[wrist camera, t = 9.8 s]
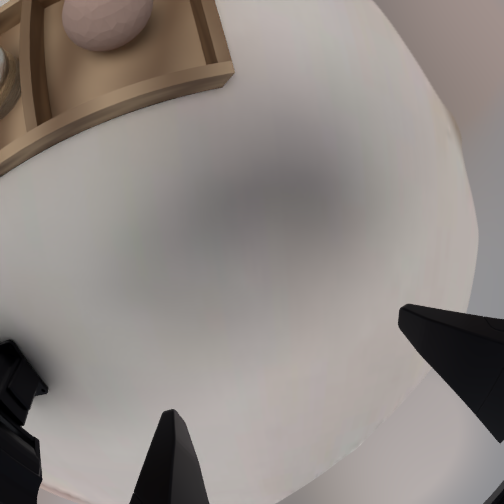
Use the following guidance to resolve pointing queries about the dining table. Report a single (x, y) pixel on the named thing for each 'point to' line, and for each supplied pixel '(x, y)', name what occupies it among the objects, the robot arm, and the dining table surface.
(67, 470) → the dining table surface
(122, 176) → the dining table surface
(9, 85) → the tin
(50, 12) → the crate
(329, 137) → the dining table surface
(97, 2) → the egg
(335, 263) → the dining table surface
